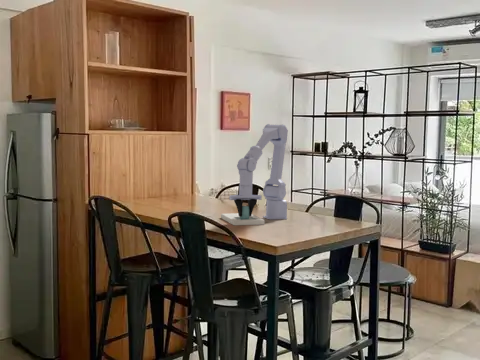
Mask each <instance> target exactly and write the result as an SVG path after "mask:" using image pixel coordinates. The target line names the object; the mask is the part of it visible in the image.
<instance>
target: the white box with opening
mask: <svg viewBox="0 0 480 360" xmlns="http://www.w3.org/2000/svg"><path fill="white" fill-rule="evenodd" d="M220 219H221V220H223V221H225V222H227V223H229V224H230V225H232V226H256V225H257V226H259V225H265V219H263V218H261V217H259V216H256V215H254V214H253V213H252V215H251V216H249V219H248V220H241V219H240V216H239V214H238V212H237V213H220Z"/></svg>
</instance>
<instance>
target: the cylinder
mask: <svg viewBox="0 0 480 360" xmlns="http://www.w3.org/2000/svg"><path fill="white" fill-rule="evenodd" d="M249 208H250V206H248V204H247V205H246V204H244V205H243V204H242V217H240V219H241V220H248V219H249Z"/></svg>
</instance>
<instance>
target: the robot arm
mask: <svg viewBox="0 0 480 360" xmlns="http://www.w3.org/2000/svg"><path fill="white" fill-rule="evenodd" d="M288 132H289V129H288V128H287V126H286V125H285V124H284V123H283V124H270V123H267V124H266V125H265V126H264V127H263V128H262V135H261V136H260V137H259V139H258V141H257V143H256V144H255V145H252V146H250V148H249V150H247V153H246V154H245V155H244V157H242V158H240V159H239V160H238V162H237V164H236V167H237V169H238V170H237V171H238V175H239V184H238V185H239V189H238V190H239V191H238V194H233V195H232V194H230V195H228V196H229V197H228V199H229V201H234V204H235V206H236V209H237V213H238V214H239V216H240V217H242V205H243V204H244V202H243V200H244V201H246V200H247V205H248V206H250V208H249V216H251V215H252V214H253V211H254V208H255V206H256V204H257V201H259V200H260V201H262V198H263V196H264V199H265V200H266V201H265V202H266V207H265V215H262V217H263V218H264V219H267V220H287V219H288V217H287V216H288V202H287V200H286V199H285V198H286V194H287V191H286V185H287V184H286V183H285V182H284V180H283V179H282V178H283V177H282V175H283V170H284V162H285V153H286V152H285V151H286V145H287V141H288ZM269 142H271V143H272V145H273V151H272V152H273V153H272V162H271V168H270V173H269V174H270V175H269V179H268V180H266V181H265V182H264V187H263V189H262V195H263V196H262V195H261V194H253V177H254V176H253V175H254V171H255V170H256V168H257V164H258V161H259V159H260V158H261V156H262V155H263V150H264V148H265V147H266V146H267V145H268V143H269Z"/></svg>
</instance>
